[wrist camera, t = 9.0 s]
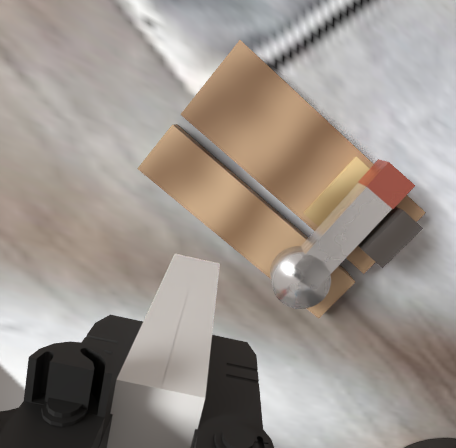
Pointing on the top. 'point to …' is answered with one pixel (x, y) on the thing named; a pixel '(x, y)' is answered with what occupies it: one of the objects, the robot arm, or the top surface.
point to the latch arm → (337, 237)
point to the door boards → (270, 170)
